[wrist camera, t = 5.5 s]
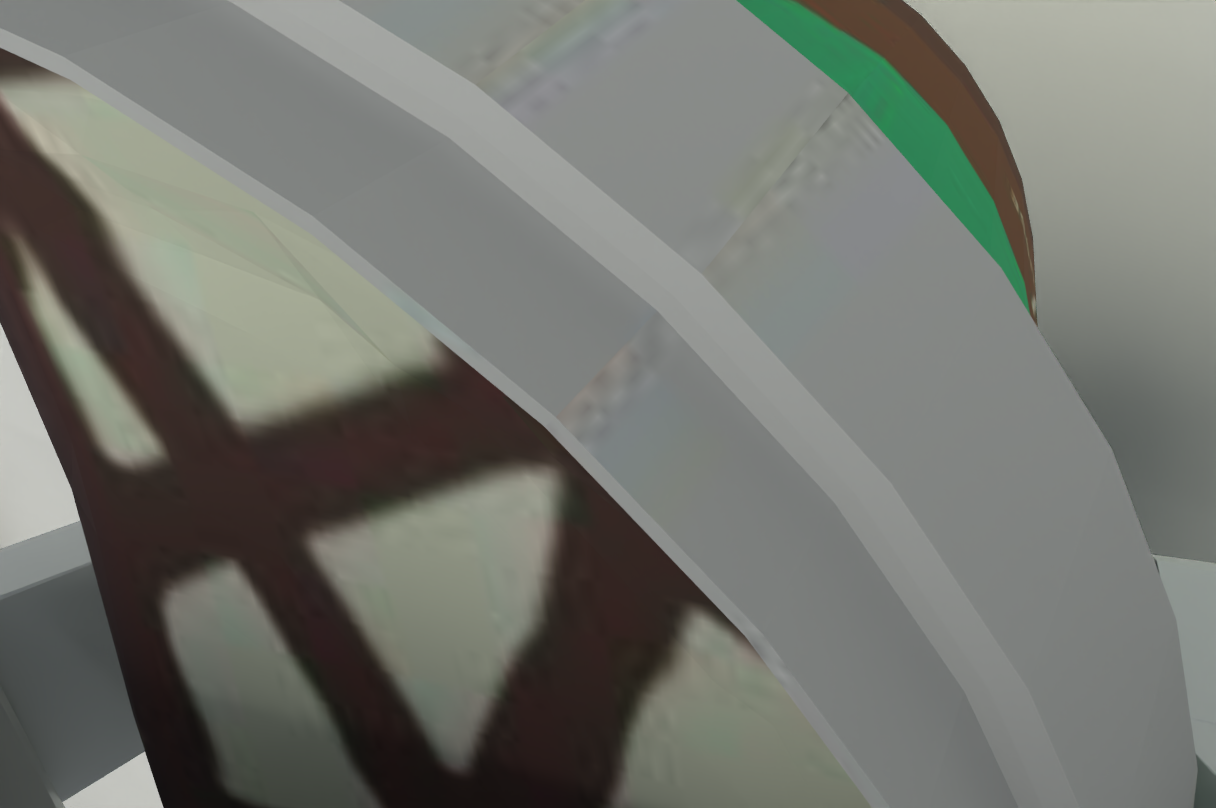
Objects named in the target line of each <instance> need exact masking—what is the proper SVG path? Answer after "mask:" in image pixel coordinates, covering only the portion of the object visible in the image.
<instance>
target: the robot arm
mask: <svg viewBox="0 0 1216 808" xmlns="http://www.w3.org/2000/svg"><path fill="white" fill-rule="evenodd" d="M1152 556H1153V559H1154V562H1155V564H1156V567H1157V570H1158V572H1159V575H1160V578H1161V580H1162V583H1163V586H1164V588H1165V591H1166V593H1167V596H1168V599H1169V601H1170V604H1171V607H1172V609H1173V612H1174V615H1175V617H1176V621H1177V628H1178V635H1179V642H1180V649H1181V655H1182V662H1183V669H1184V676H1185V683H1186V690H1187V697H1188V704H1189V711H1190V718H1191V725H1192V732H1193V739H1194V746H1195V753H1196V760H1197V767H1198V773H1197V782H1196V790H1195V799H1194V808H1216V563H1212V562H1205V561H1197V560H1190V559H1183V558H1175V557H1168V556H1160V555H1153V554H1152ZM144 751H145V749H144V746H143V743H142V740H141V737H140V734H139V731H138V728H137V725H136V722H135V719H134V716H133V712H132V708H131V705H130V701H129V697H128V694H127V690H126V686H125V683H124V679H123V675H122V672H121V668H120V664H119V661H118V657H117V653H116V649H115V646H114V642H113V638H112V635H111V631H110V627H109V624H108V620H107V616H106V613H105V609H104V605H103V602H102V598H101V594H100V591H99V587H98V583H97V580H96V576H95V572H94V569H93V565H92V561H91V558H90V554H89V550H88V547H87V543H86V539H85V536H84V532H83V528H82V525H81V521H78V522H75V523H73V524H70V525H67V526H64V527H61V528H59V529H56V530H53V531H50V532H47V533H44V534H42V535H39V536H36V537H33V538H30V539H27V540H25V541H22V542H19V543H16V544H13V545H11V546H8V547H5V548H2V549H0V808H65V807H64V805H63V803H62V802H63V801H65V800H67V799H68V798H70V797H71V796H73V795H75V794H76V793H78V792H80V791H81V790H83V789H84V788H86V787H88V786H89V785H91V784H93V783H94V782H96V781H97V780H99V779H101V778H102V777H104V776H106V775H107V774H109V773H110V772H112V771H114V770H115V769H117V768H118V767H120V766H122V765H123V764H125V763H127V762H128V761H130V760H131V759H133V758H135V757H136V756H138V755H140V754H141V753H143V752H144Z"/></svg>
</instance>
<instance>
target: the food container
mask: <svg viewBox="0 0 1216 808" xmlns="http://www.w3.org/2000/svg"><path fill="white" fill-rule="evenodd" d="M0 323H1V325H2V327H3V330H4V332H5V334H6V337H7V339H8V341H9V344H10V346H11V348H12V351H13V353H14V355H15V358H16V360H17V362H18V365H19V367H20V369H21V372H22V374H23V376H24V379H25V381H26V383H27V386H28V388H29V390H30V393H31V395H32V397H33V400H34V402H35V404H36V407H37V409H38V411H39V414H40V416H41V418H42V421H43V423H44V425H45V428H46V430H47V432H48V435H49V437H50V439H51V442H52V444H53V446H54V449H55V451H56V453H57V456H58V458H59V460H60V463H61V465H62V467H63V470H64V472H65V474H66V477H67V479H68V481H69V484H70V486H71V488H72V492H73V495H74V499H75V503H76V506H77V510H78V514H79V517H80V521H81V525H82V528H83V532H84V536H85V539H86V543H87V547H88V550H89V554H90V558H91V561H92V565H93V569H94V572H95V576H96V580H97V583H98V587H99V591H100V594H101V598H102V602H103V605H104V609H105V613H106V616H107V620H108V624H109V627H110V631H111V635H112V638H113V642H114V646H115V649H116V653H117V657H118V661H119V664H120V668H121V672H122V675H123V679H124V683H125V686H126V690H127V694H128V697H129V701H130V705H131V708H132V712H133V716H134V719H135V722H136V725H137V728H138V731H139V734H140V737H141V740H142V743H143V746H144V749H145V752H146V756H147V759H148V762H149V765H150V768H151V771H152V774H153V777H154V780H155V783H156V786H157V789H158V792H159V795H160V798H161V801H162V804H163V807H164V808H1194V799H1195V790H1196V782H1197V773H1198V767H1197V760H1196V753H1195V746H1194V739H1193V732H1192V725H1191V718H1190V711H1189V704H1188V697H1187V690H1186V683H1185V676H1184V669H1183V662H1182V655H1181V649H1180V642H1179V635H1178V628H1177V621H1176V617H1175V615H1174V612H1173V609H1172V607H1171V604H1170V601H1169V599H1168V596H1167V593H1166V591H1165V588H1164V586H1163V583H1162V580H1161V578H1160V575H1159V572H1158V570H1157V567H1156V564H1155V562H1154V559H1153V556H1152V554H1151V551H1150V548H1149V546H1148V543H1147V540H1146V538H1145V535H1144V532H1143V530H1142V527H1141V524H1140V522H1139V519H1138V517H1137V514H1136V511H1135V509H1134V506H1133V503H1132V501H1131V498H1130V495H1129V493H1128V490H1127V487H1126V485H1125V482H1124V479H1123V477H1122V474H1121V471H1120V469H1119V466H1118V463H1117V461H1116V458H1115V456H1114V453H1113V450H1112V448H1111V447H1110V445H1109V443H1108V442H1107V440H1106V438H1105V437H1104V435H1103V433H1102V432H1101V430H1100V429H1099V427H1098V425H1097V424H1096V422H1095V420H1094V419H1093V417H1092V415H1091V414H1090V412H1089V411H1088V409H1087V407H1086V406H1085V404H1084V402H1083V401H1082V399H1081V397H1080V396H1079V394H1078V393H1077V391H1076V389H1075V388H1074V386H1073V384H1072V383H1071V381H1070V380H1069V378H1068V376H1067V375H1066V373H1065V371H1064V370H1063V368H1062V366H1061V365H1060V363H1059V362H1058V360H1057V358H1056V357H1055V355H1054V353H1053V352H1052V350H1051V348H1050V347H1049V345H1048V344H1047V342H1046V340H1045V339H1044V337H1043V335H1042V334H1041V332H1040V331H1039V329H1038V327H1037V309H1036V290H1035V271H1034V252H1033V236H1032V231H1031V226H1030V220H1029V215H1028V210H1027V204H1026V199H1025V194H1024V188H1023V183H1022V178H1021V176H1020V173H1019V171H1018V168H1017V165H1016V163H1015V160H1014V158H1013V155H1012V153H1011V150H1010V147H1009V145H1008V142H1007V140H1006V137H1005V134H1004V132H1003V129H1002V127H1001V124H1000V122H999V120H998V118H997V116H996V115H995V113H994V111H993V110H992V108H991V107H990V105H989V103H988V102H987V100H986V98H985V97H984V95H983V93H982V92H981V90H980V89H979V87H978V85H977V84H976V82H975V80H974V79H973V77H972V75H971V74H970V72H969V71H968V69H967V67H966V66H965V64H964V63H963V62H962V61H961V60H960V59H959V58H958V57H957V55H956V54H955V53H954V52H953V51H952V50H951V49H950V47H949V46H948V45H947V44H946V43H945V42H944V41H943V40H942V38H941V37H940V36H939V35H938V34H937V33H936V32H935V30H934V29H933V28H932V27H931V26H930V25H929V24H928V23H927V21H926V20H925V19H924V18H923V17H922V16H921V15H920V14H919V13H918V12H916V11H915V10H914V9H913V8H911V7H910V6H909V5H908V4H906V3H905V2H904V1H903V0H0Z"/></svg>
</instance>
